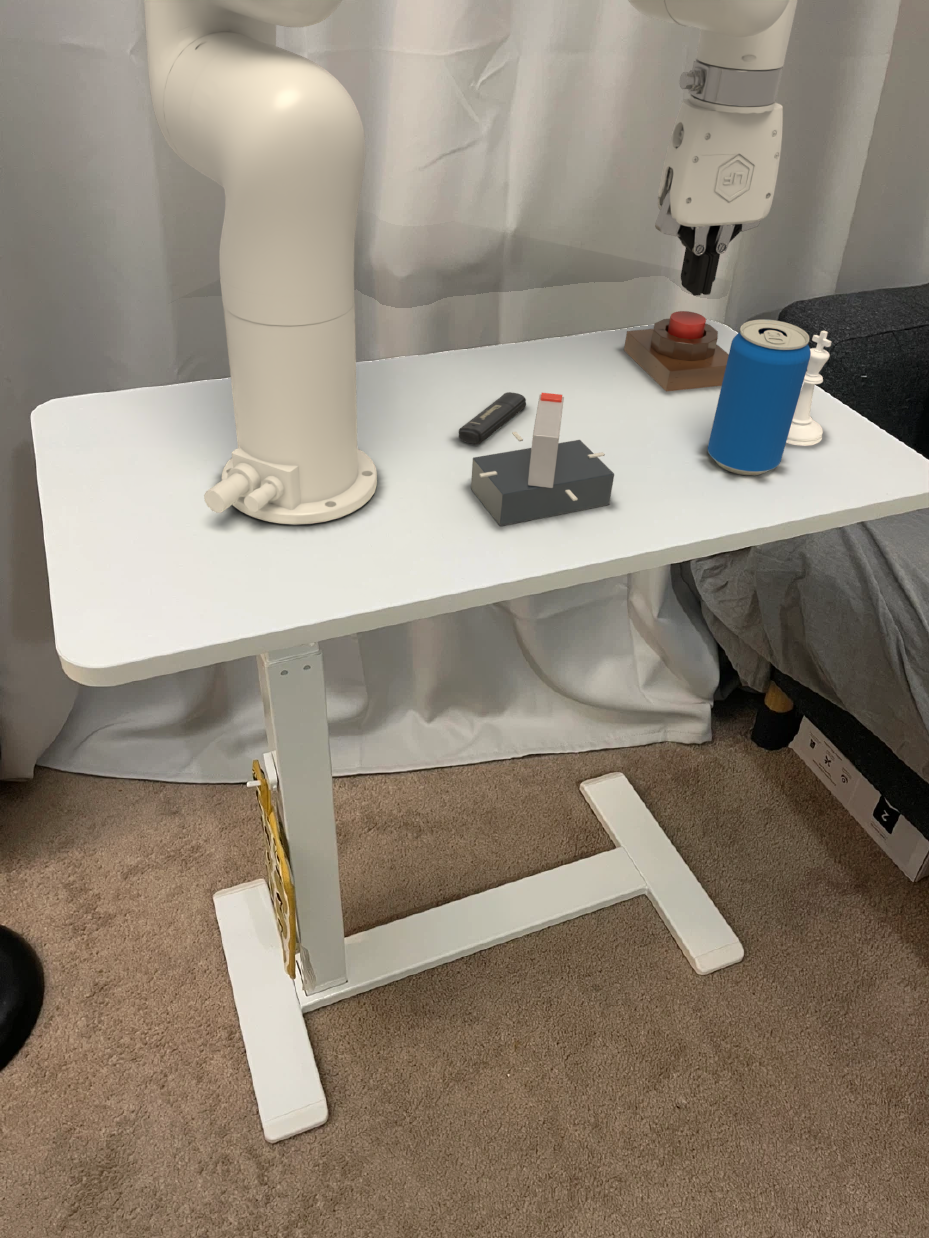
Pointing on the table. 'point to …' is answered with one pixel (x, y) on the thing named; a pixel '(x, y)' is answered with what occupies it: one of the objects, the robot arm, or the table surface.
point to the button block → (678, 357)
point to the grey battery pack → (545, 440)
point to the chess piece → (809, 397)
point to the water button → (686, 325)
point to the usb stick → (492, 418)
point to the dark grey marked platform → (515, 501)
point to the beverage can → (759, 396)
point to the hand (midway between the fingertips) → (695, 290)
